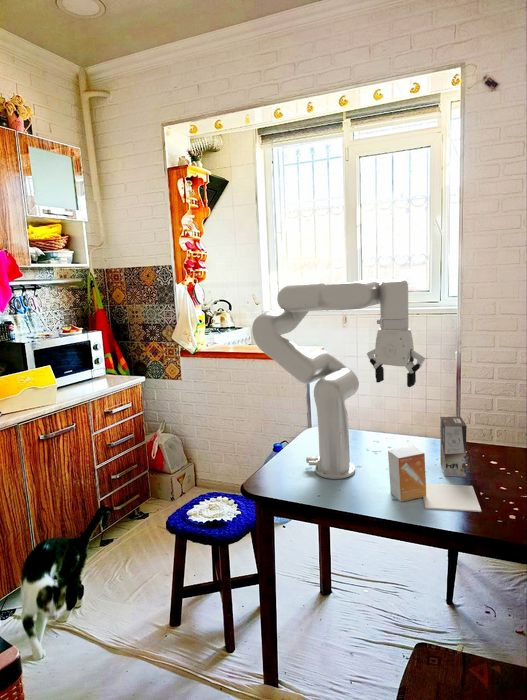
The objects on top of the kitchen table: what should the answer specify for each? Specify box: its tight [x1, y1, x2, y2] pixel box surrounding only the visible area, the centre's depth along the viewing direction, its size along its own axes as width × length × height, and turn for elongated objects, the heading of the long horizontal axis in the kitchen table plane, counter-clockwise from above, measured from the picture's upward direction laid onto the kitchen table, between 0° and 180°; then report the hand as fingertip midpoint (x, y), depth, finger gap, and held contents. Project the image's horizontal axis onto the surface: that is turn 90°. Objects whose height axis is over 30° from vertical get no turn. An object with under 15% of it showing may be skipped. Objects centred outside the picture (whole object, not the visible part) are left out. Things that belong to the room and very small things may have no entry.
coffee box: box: [439, 416, 468, 477], centre depth 153 cm, size 9×6×16 cm
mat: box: [422, 483, 482, 513], centre depth 138 cm, size 14×14×1 cm
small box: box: [387, 445, 427, 502], centre depth 140 cm, size 8×6×13 cm
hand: (395, 383), depth 142 cm, fingers open, 9 cm apart
